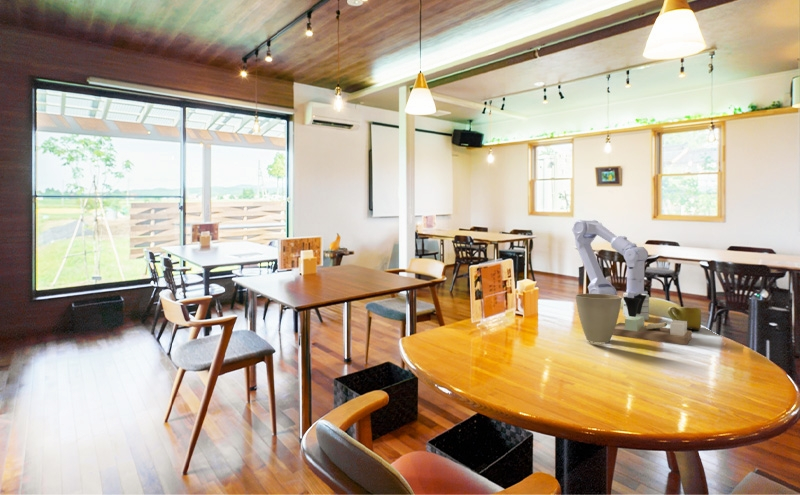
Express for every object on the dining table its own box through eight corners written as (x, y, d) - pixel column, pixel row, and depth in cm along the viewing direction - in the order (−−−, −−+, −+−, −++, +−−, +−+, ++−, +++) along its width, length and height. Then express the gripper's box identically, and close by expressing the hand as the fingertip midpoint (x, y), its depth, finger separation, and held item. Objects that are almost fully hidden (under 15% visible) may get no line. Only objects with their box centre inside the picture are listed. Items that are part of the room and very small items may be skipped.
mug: (692, 328, 173) (692, 303, 173) (707, 334, 163) (708, 308, 163) (660, 328, 175) (660, 303, 174) (673, 333, 164) (674, 307, 164)
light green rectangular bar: (624, 329, 159) (625, 319, 159) (632, 324, 168) (632, 314, 168) (636, 331, 156) (637, 320, 156) (644, 326, 165) (644, 315, 165)
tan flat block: (646, 329, 158) (645, 326, 158) (649, 326, 162) (648, 324, 162) (664, 327, 154) (664, 324, 155) (667, 324, 158) (666, 322, 158)
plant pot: (620, 338, 156) (620, 294, 156) (622, 347, 143) (622, 299, 142) (575, 334, 162) (576, 292, 162) (573, 342, 149) (574, 297, 148)
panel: (610, 334, 162) (610, 323, 162) (619, 328, 173) (619, 318, 173) (686, 344, 147) (686, 332, 146) (691, 337, 157) (691, 326, 157)
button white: (670, 334, 151) (670, 323, 151) (673, 330, 157) (673, 319, 157) (683, 336, 149) (683, 324, 149) (686, 332, 155) (687, 321, 155)
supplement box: (622, 321, 188) (622, 292, 188) (637, 321, 189) (638, 292, 189) (633, 324, 181) (633, 294, 181) (649, 324, 182) (649, 294, 182)
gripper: (643, 281, 154) (642, 319, 154) (651, 278, 165) (650, 313, 165) (621, 279, 158) (620, 316, 158) (631, 277, 169) (630, 311, 170)
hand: (634, 315), depth 162 cm, fingers open, 7 cm apart
